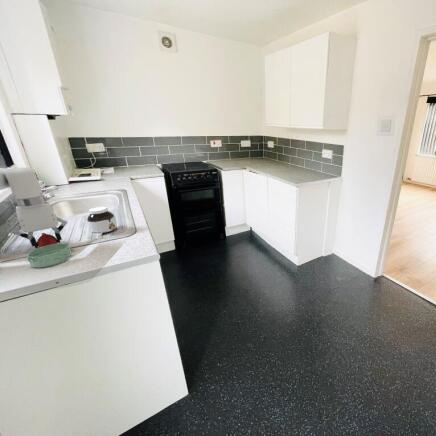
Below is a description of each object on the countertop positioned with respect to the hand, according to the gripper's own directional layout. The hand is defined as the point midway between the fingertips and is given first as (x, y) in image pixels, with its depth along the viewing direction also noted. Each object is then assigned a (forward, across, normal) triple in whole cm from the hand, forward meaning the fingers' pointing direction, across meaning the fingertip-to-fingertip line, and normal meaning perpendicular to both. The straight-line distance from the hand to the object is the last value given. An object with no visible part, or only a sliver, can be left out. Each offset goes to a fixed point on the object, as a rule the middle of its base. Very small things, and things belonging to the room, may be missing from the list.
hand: (48, 244), depth 98 cm
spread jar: (+3, -20, -9) cm, 22 cm away
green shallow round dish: (+3, 0, +12) cm, 12 cm away
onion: (+3, 0, 0) cm, 3 cm away
